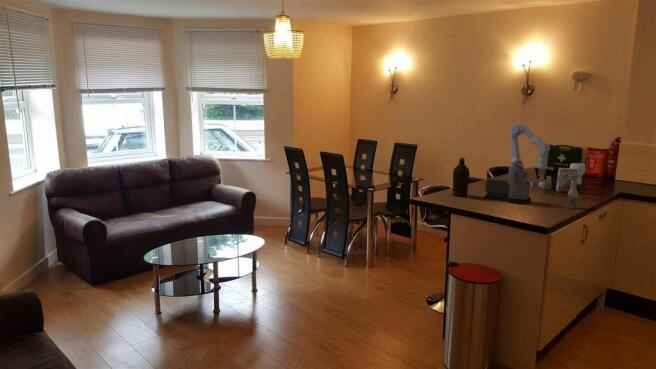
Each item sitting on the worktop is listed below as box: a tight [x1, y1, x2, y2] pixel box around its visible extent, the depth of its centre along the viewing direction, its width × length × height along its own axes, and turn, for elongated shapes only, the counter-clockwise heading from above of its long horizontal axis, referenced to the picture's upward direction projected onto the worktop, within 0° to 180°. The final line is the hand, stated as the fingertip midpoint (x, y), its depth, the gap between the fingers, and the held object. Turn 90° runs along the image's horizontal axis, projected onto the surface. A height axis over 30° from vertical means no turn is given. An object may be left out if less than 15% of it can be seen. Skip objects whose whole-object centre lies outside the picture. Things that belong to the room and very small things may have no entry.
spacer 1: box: [537, 175, 546, 181], centre depth 370 cm, size 5×5×5 cm
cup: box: [569, 162, 586, 185], centre depth 386 cm, size 11×11×15 cm
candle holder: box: [563, 173, 583, 210], centre depth 305 cm, size 9×9×20 cm
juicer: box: [481, 163, 534, 206], centre depth 322 cm, size 30×16×24 cm, turn 57°
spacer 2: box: [545, 175, 552, 182], centre depth 388 cm, size 5×5×5 cm
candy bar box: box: [555, 167, 577, 193], centre depth 353 cm, size 11×5×16 cm, turn 84°
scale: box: [530, 179, 553, 190], centre depth 371 cm, size 13×17×5 cm
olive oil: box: [452, 157, 471, 198], centre depth 334 cm, size 11×11×25 cm
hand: (541, 179), depth 369 cm, fingers closed on spacer 1, 5 cm apart
